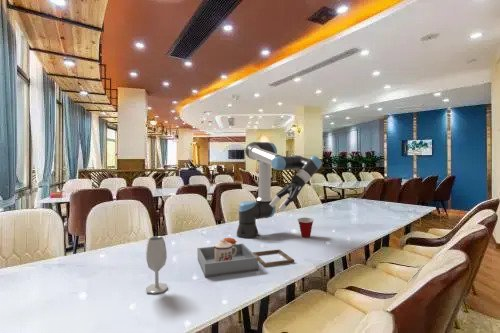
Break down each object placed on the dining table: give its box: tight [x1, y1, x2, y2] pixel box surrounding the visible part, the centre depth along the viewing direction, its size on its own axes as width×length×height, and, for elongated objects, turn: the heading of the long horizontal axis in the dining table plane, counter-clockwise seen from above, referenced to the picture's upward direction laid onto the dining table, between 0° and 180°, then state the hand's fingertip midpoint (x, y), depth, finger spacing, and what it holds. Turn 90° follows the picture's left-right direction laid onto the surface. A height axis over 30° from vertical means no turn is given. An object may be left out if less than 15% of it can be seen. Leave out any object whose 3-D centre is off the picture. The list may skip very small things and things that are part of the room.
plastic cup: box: [297, 217, 315, 239], centre depth 196 cm, size 11×11×12 cm
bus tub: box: [196, 243, 259, 278], centre depth 145 cm, size 25×25×6 cm
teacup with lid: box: [214, 238, 237, 262], centre depth 145 cm, size 12×9×12 cm
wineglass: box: [145, 235, 169, 295], centre depth 117 cm, size 9×9×21 cm
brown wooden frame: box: [251, 248, 295, 268], centre depth 153 cm, size 18×16×2 cm
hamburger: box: [219, 237, 238, 245], centre depth 170 cm, size 9×10×7 cm
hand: (275, 207), depth 157 cm, fingers open, 13 cm apart
